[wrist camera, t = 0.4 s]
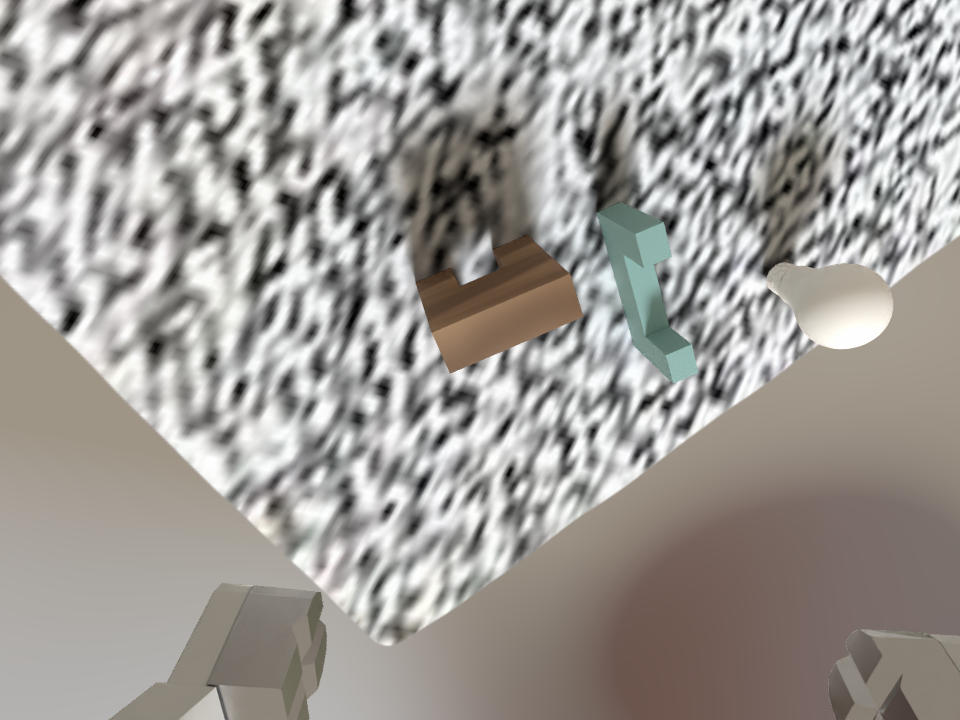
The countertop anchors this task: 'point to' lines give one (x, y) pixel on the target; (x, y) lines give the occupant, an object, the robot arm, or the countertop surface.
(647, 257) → the teal bracket
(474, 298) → the brown arch block
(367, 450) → the countertop surface
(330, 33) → the countertop surface
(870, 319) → the lightbulb
